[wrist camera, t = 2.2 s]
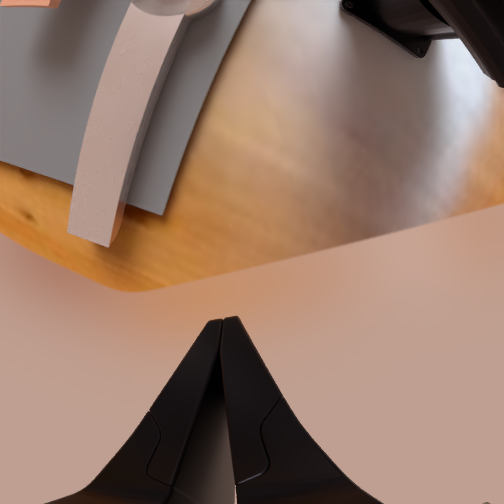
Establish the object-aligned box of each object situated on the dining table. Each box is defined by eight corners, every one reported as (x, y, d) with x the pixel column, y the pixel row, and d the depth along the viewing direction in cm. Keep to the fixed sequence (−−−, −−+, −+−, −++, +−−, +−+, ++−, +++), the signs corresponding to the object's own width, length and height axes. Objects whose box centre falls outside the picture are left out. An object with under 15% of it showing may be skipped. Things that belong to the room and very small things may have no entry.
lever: (160, -53, 11) (147, -74, 8) (239, -35, 12) (241, -57, 9) (68, 213, 19) (47, 235, 16) (132, 236, 20) (118, 261, 17)
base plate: (285, -58, 12) (287, -64, 11) (165, 209, 21) (162, 215, 20) (28, -79, 7) (22, -82, 6) (-45, 139, 16) (-52, 143, 15)
